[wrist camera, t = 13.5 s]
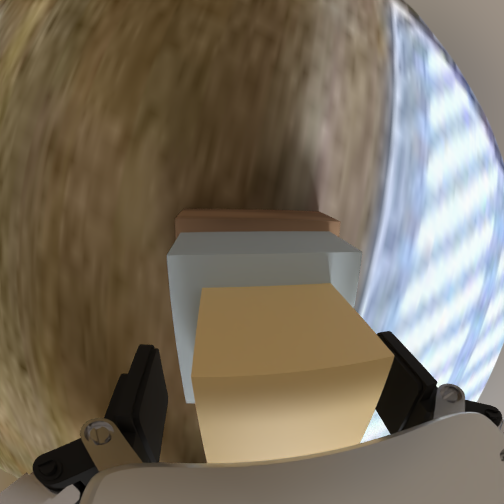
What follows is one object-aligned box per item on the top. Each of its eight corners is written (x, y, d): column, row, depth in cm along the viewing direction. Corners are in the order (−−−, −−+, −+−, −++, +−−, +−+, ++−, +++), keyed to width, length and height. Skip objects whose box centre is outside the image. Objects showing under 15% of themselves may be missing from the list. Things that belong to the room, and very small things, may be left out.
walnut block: (305, 325, 24) (320, 355, 20) (189, 327, 23) (184, 360, 19) (317, 210, 21) (340, 221, 17) (184, 208, 20) (174, 218, 16)
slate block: (315, 351, 20) (335, 392, 15) (191, 358, 19) (186, 403, 15) (329, 231, 17) (362, 252, 13) (180, 232, 16) (166, 255, 12)
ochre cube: (316, 378, 15) (351, 459, 9) (210, 386, 14) (210, 477, 9) (330, 282, 13) (394, 355, 7) (201, 287, 13) (190, 376, 7)
